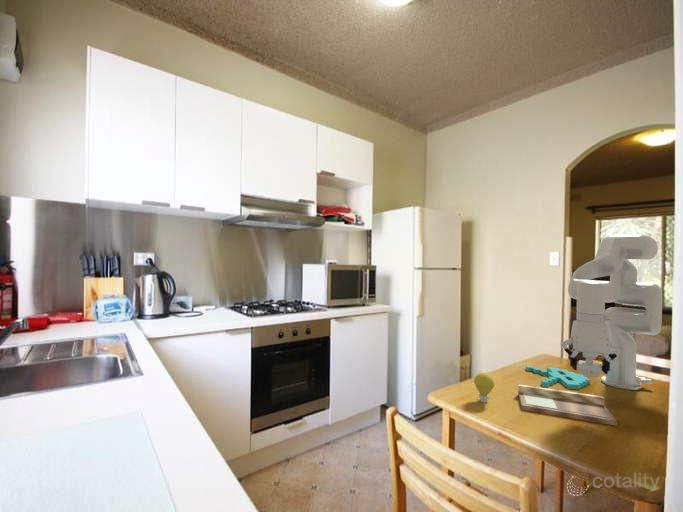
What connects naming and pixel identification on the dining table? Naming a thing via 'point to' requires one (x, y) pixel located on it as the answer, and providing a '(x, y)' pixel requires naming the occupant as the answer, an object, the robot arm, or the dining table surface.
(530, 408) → the brown piece
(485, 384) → the light bulb
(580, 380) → the teal pixel sprite
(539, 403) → the end mark
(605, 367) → the robot arm
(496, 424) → the dining table surface
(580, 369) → the stamp
